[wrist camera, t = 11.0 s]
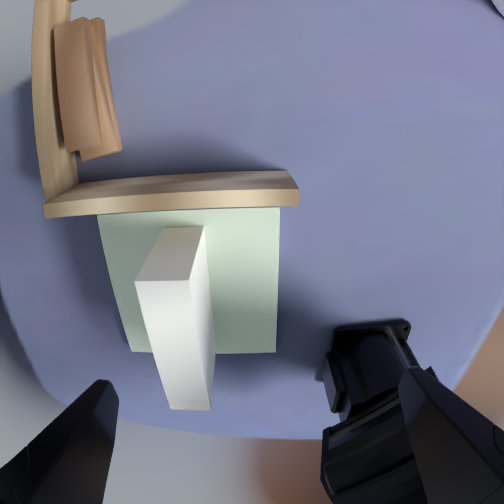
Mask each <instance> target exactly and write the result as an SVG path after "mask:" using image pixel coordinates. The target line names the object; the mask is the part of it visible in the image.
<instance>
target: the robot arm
mask: <svg viewBox="0 0 504 504" xmlns="http://www.w3.org/2000/svg"><path fill="white" fill-rule="evenodd" d="M404 327H405V328H404ZM410 330H411V325H410V323H409V322H408V321H399V322H390V323H380V324H370V325H360V326H348V327H339V328H336V329H335V330H334V331H333V334H332V340H331V345H330V351H329V352H327V353H326V355H325V360H324V366H323V371H322V378H323V382H324V386H325V390H326V394H327V398H328V402H329V406H330V410H331V412H332V413H339V417H340V421H341V422H340V423H338V424H336V425H334V426H332V427H328V428H326V429H324V430H323V439H322V457H321V476H320V478H321V482H322V484H323V486H324V488H325V491H326V493H327V495H328V496H329V498H330V500H331V501H332V503H333V504H504V431H503V430H502V429H500V428H499V427H498V426H497V425H494V423H492V422H491V421H490V420H489V419H487V418H486V417H485V416H483V415H482V414H481V413H480V412H478V411H477V410H475V409H474V408H473V407H472V406H470V405H469V404H468V403H466V402H465V401H464V400H462V399H461V398H460V397H459V396H457V395H456V394H455V393H453V392H452V391H451V390H449V389H448V388H447V387H445V386H444V385H443V384H442V383H441V382H440V380H439V378H438V377H437V375H436V374H435V372H434V370H433V369H432V367H431V366H430V367H429V368H427V369H426V370H423V369H422V368H421V367H420V365H419V363H418V362H417V360H416V358H415V356H414V354H413V352H412V351H411V349H410V347H409V345H408V344H407V342H406V341H407V339H408V336H409V333H410ZM339 333H342V334H340V335H338V334H339ZM118 408H119V398H118V395H117V393H116V391H115V389H114V387H113V385H112V383H111V382H110V381H109V380H102V379H99V380H96V381H95V382H94V383H93V384H92V385H91V386H90V387H89V388H88V389H87V390H86V391H84V392H83V393H82V394H81V395H80V396H79V397H78V398H77V399H76V400H75V401H74V402H73V403H72V404H70V405H69V406H68V407H67V408H66V409H65V410H64V411H63V412H62V413H61V414H60V415H59V416H58V417H57V418H55V419H54V420H53V421H52V423H50V424H49V425H48V426H47V427H46V428H45V429H44V430H43V431H42V432H41V433H39V434H38V435H37V436H36V437H35V438H34V439H33V440H32V441H31V442H30V443H29V444H28V445H27V446H26V447H24V448H23V449H22V450H21V451H20V452H19V453H18V454H17V455H16V456H15V457H14V458H12V459H11V460H10V461H9V462H8V463H7V464H5V465H4V466H3V467H2V468H0V504H102V503H103V498H104V492H105V487H106V481H107V476H108V471H109V467H110V462H111V457H112V453H113V448H114V442H115V433H116V424H117V416H118Z"/></svg>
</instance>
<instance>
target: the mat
mask: <svg viewBox="0 0 504 504" xmlns="http://www.w3.org/2000/svg"><path fill="white" fill-rule="evenodd" d="M97 220H98V225H99V230H100V235H101V240H102V245H103V249H104V254H105V258H106V263H107V267H108V271H109V275H110V279H111V283H112V287H113V291H114V295H115V298H116V302H117V306H118V309H119V313H120V316H121V320H122V323H123V326H124V330H125V333H126V336H127V339H128V342H129V346H130V349H131V352H151V353H153V351H152V348H151V344H150V341H149V337H148V333H147V330H146V326H145V322H144V318H143V315H142V311H141V307H140V303H139V298H138V294H137V290H136V286H135V279H136V277H137V276H138V274H139V272H140V270H141V268H142V266H143V264H144V263H145V261H146V259H147V257H148V255H149V253H150V252H151V250H152V248H153V246H154V244H155V243H156V241H157V239H158V237H159V236H160V234H161V232H162V230H163V229H164V228H174V227H197V226H204V232H205V243H206V254H207V264H208V274H209V284H210V294H211V303H212V312H213V321H214V329H215V337H216V354H239V353H271V352H276V330H277V302H278V268H279V222H280V207H279V206H261V207H223V208H195V209H173V210H154V211H136V212H121V213H106V214H98V215H97Z"/></svg>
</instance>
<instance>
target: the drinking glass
mask: <svg viewBox="0 0 504 504" xmlns="http://www.w3.org/2000/svg"><path fill="white" fill-rule="evenodd" d="M492 2H493V4H494V5H495V7H496V8H497V10H498V11H499V12H500V13H501V15H502V16H503V17H504V0H492Z"/></svg>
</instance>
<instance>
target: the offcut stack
mask: <svg viewBox="0 0 504 504" xmlns="http://www.w3.org/2000/svg"><path fill="white" fill-rule="evenodd" d="M54 38H55V61H56V76H57V87H58V97H59V106H60V114H61V121H62V128H63V135H64V141H65V147H66V153H69V152H73V151H77V150H79V152H80V156H81V159H82V162H85V161H87V160H91V159H94V158H98V157H101V156H105V155H109V154H113V153H117V152H120V151H122V150H123V149H122V144H121V139H120V134H119V129H118V124H117V118H116V113H115V107H114V101H113V95H112V89H111V82H110V75H109V68H108V61H107V53H106V45H105V41H106V31H105V21H104V20H102V19H101V18H98V17H97V18H94V19H92V20H89V19H87V18H84V17H81V18H79V19H76V20H73V21H71V22H68V23H66V24H63V25H61V26H58V27H56V28H54Z"/></svg>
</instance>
